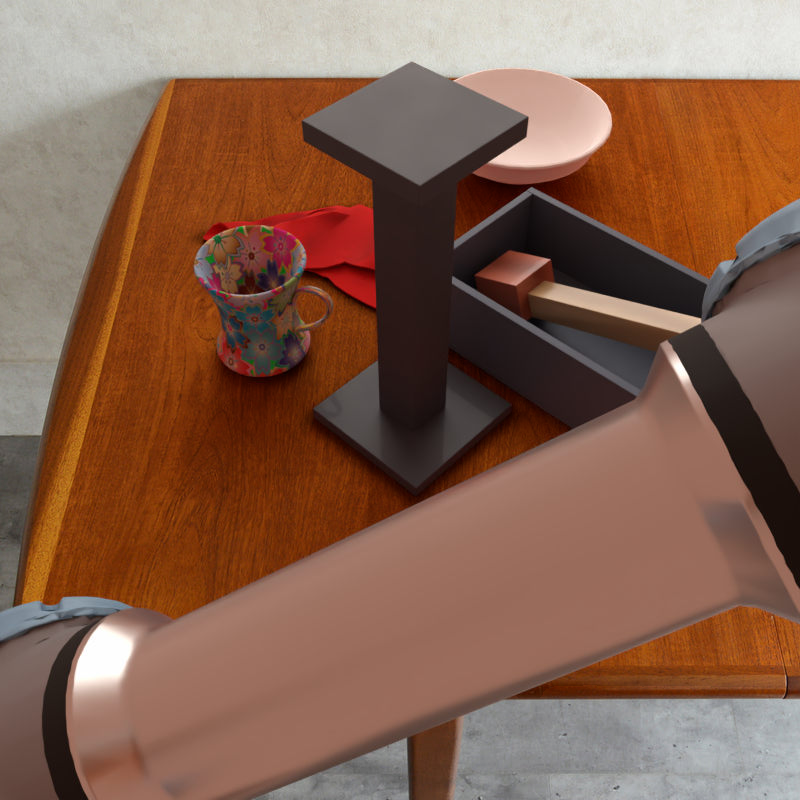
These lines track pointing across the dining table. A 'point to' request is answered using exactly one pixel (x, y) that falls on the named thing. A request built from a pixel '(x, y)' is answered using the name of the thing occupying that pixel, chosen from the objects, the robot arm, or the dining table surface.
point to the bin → (552, 343)
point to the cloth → (330, 245)
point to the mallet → (575, 303)
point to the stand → (413, 266)
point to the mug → (258, 298)
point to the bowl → (543, 123)
